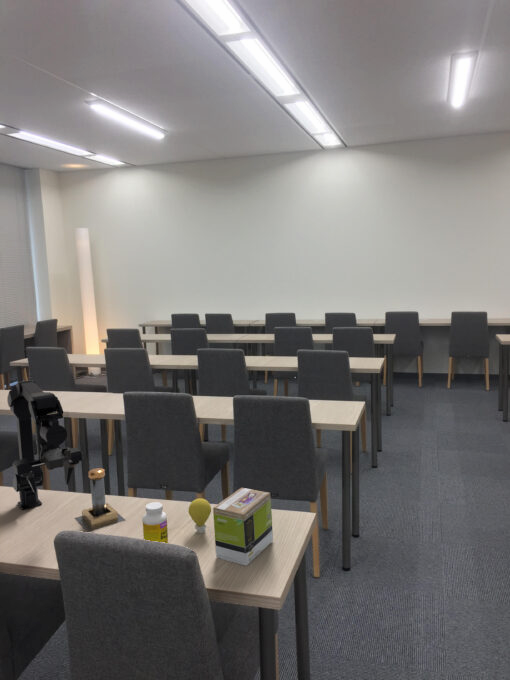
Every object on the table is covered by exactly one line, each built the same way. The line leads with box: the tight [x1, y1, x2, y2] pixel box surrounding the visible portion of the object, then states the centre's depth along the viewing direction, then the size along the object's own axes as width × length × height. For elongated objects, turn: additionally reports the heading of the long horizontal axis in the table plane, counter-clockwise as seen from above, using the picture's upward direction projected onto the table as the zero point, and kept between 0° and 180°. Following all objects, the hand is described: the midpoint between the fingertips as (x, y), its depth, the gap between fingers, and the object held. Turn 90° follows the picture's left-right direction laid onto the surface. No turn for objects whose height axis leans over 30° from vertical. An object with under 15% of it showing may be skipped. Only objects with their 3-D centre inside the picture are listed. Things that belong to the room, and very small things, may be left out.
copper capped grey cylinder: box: [87, 467, 107, 517], centre depth 171 cm, size 5×5×16 cm
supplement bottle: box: [142, 501, 169, 544], centre depth 153 cm, size 7×7×13 cm
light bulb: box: [188, 498, 212, 534], centre depth 163 cm, size 7×7×10 cm
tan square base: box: [74, 503, 126, 533], centre depth 172 cm, size 12×12×3 cm
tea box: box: [212, 487, 274, 566], centre depth 151 cm, size 15×10×15 cm
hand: (51, 488), depth 161 cm, fingers open, 9 cm apart
